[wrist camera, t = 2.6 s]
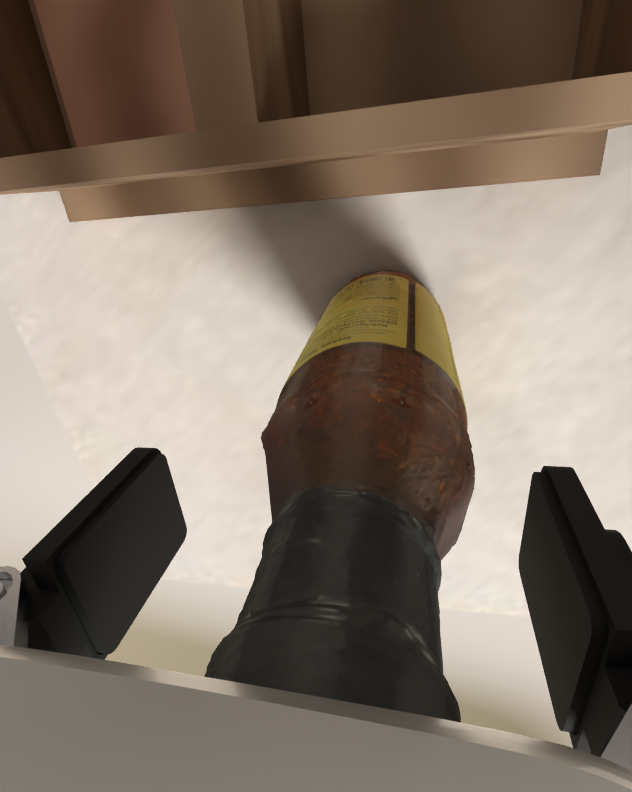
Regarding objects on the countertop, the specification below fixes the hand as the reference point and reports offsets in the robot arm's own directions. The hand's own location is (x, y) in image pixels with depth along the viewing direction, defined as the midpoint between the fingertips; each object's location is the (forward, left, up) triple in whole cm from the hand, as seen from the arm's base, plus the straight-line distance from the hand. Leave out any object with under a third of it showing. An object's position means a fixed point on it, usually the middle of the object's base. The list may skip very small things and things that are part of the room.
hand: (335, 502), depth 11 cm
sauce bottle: (0, 0, -14) cm, 14 cm away
